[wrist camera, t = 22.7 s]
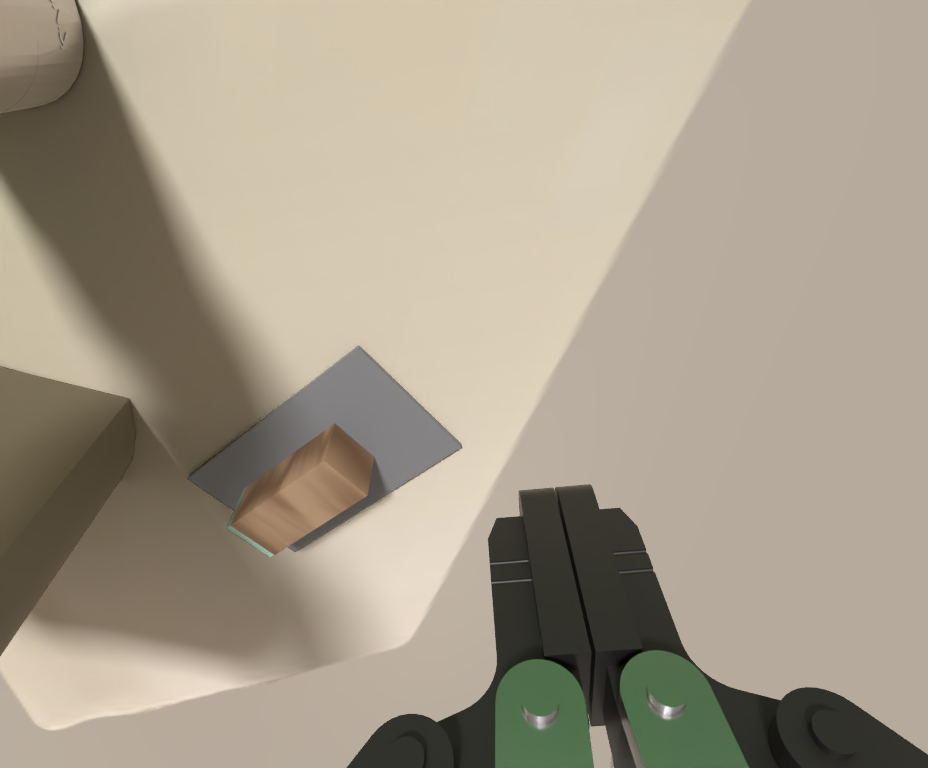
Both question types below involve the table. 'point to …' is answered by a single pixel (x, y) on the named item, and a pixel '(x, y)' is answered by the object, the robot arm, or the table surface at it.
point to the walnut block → (303, 492)
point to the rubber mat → (357, 413)
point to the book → (52, 479)
